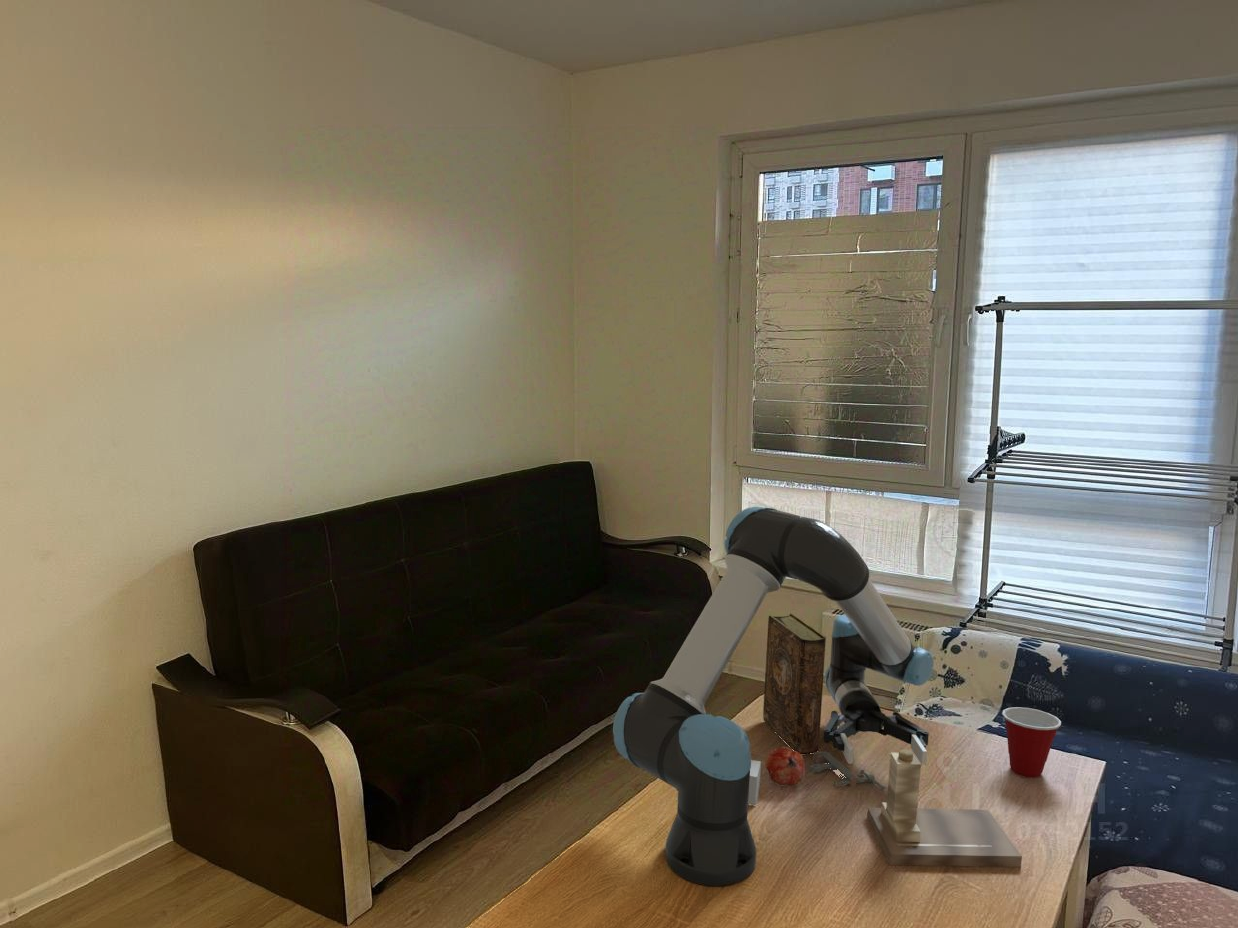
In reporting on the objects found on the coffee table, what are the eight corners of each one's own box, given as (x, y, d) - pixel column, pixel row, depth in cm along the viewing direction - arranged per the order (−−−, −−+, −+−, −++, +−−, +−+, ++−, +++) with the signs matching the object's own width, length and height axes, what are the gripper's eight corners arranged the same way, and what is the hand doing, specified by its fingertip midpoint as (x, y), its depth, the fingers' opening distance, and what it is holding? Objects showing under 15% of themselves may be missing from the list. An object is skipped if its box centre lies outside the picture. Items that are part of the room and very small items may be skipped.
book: (821, 752, 190) (829, 638, 185) (798, 756, 188) (805, 641, 184) (784, 717, 205) (790, 612, 201) (762, 720, 204) (768, 614, 199)
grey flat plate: (889, 864, 153) (890, 853, 152) (867, 817, 166) (867, 807, 166) (1020, 866, 153) (1022, 855, 152) (987, 819, 167) (988, 809, 166)
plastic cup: (1049, 761, 188) (1056, 707, 186) (1059, 788, 178) (1066, 731, 176) (993, 753, 191) (999, 700, 189) (1000, 779, 181) (1006, 723, 179)
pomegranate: (760, 786, 180) (770, 779, 172) (762, 749, 184) (772, 740, 175) (797, 792, 180) (809, 785, 171) (798, 754, 184) (810, 745, 175)
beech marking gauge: (896, 841, 156) (902, 765, 153) (881, 812, 165) (886, 740, 162) (919, 841, 156) (926, 766, 153) (903, 812, 165) (909, 740, 162)
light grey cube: (728, 785, 177) (729, 756, 176) (759, 790, 175) (761, 761, 174) (723, 801, 171) (725, 771, 170) (755, 806, 170) (757, 776, 168)
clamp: (800, 753, 186) (843, 746, 189) (800, 763, 186) (842, 756, 189) (842, 791, 172) (887, 783, 175) (841, 802, 172) (886, 793, 176)
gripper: (916, 724, 190) (953, 777, 169) (796, 721, 190) (818, 774, 169) (919, 690, 188) (956, 739, 168) (798, 688, 188) (821, 737, 167)
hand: (887, 757), depth 168 cm, fingers open, 13 cm apart
